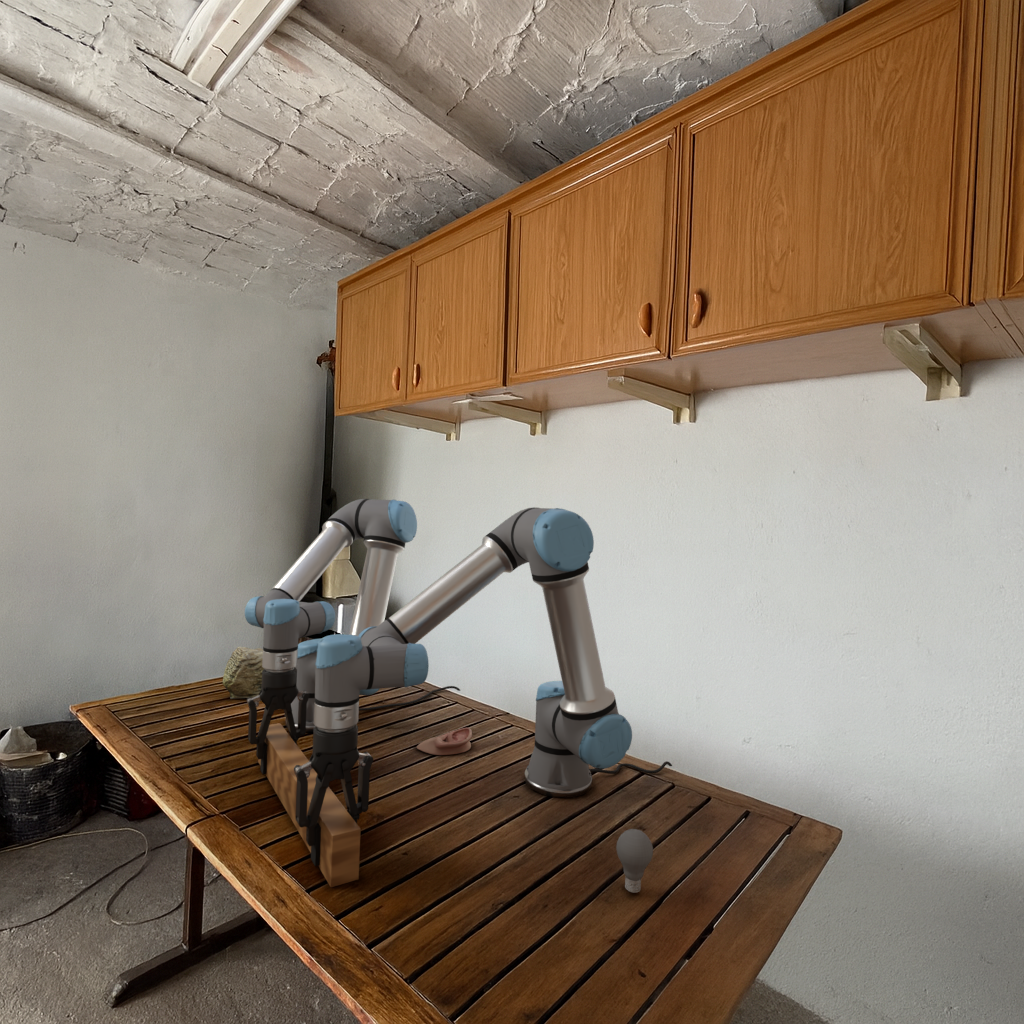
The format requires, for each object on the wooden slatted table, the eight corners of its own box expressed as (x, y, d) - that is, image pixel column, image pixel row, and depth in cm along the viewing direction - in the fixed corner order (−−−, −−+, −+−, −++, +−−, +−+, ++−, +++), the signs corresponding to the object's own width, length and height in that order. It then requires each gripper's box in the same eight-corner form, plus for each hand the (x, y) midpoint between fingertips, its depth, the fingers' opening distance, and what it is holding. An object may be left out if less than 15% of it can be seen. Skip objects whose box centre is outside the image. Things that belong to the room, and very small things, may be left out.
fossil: (218, 695, 195) (220, 647, 195) (278, 685, 208) (279, 640, 207) (228, 703, 189) (230, 653, 188) (289, 692, 201) (290, 645, 201)
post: (258, 762, 149) (259, 726, 149) (278, 758, 152) (280, 722, 152) (330, 887, 103) (332, 835, 103) (358, 879, 106) (360, 828, 106)
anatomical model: (412, 736, 159) (428, 721, 170) (412, 752, 159) (427, 735, 170) (464, 742, 156) (476, 726, 167) (463, 758, 156) (475, 741, 167)
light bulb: (610, 879, 108) (613, 822, 108) (644, 879, 109) (647, 822, 109) (619, 902, 102) (622, 840, 102) (655, 901, 103) (658, 840, 103)
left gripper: (241, 676, 136) (237, 784, 137) (323, 667, 146) (319, 768, 146) (234, 668, 142) (231, 771, 143) (314, 660, 152) (310, 756, 153)
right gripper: (289, 741, 102) (283, 883, 103) (392, 724, 112) (387, 854, 112) (277, 726, 109) (272, 860, 109) (376, 711, 118) (371, 834, 119)
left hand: (275, 769), depth 145 cm, fingers closed on post, 5 cm apart
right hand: (330, 857), depth 111 cm, fingers closed on post, 5 cm apart
